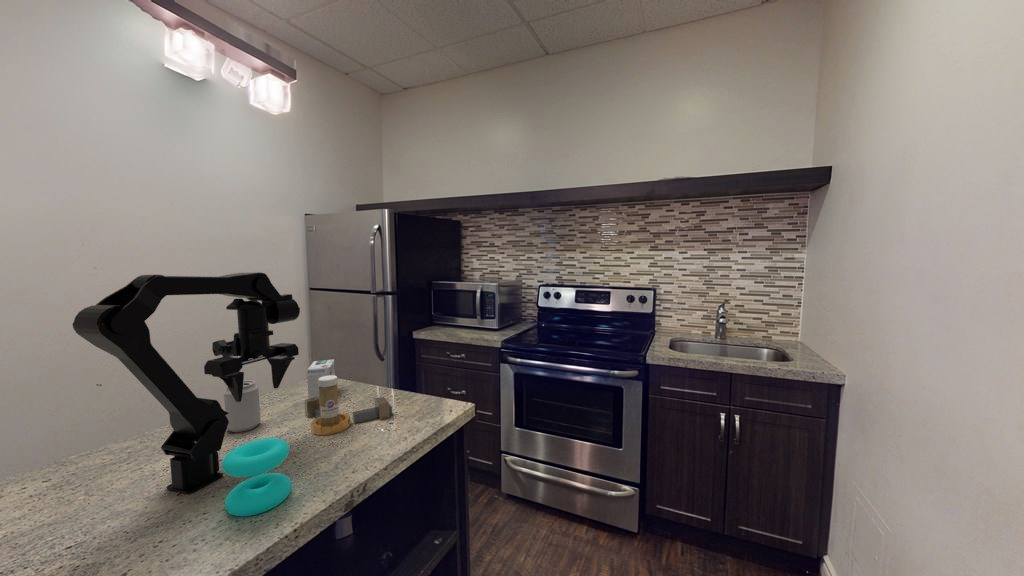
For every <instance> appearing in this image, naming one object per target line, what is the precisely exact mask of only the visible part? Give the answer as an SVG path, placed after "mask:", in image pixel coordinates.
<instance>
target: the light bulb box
mask: <svg viewBox="0 0 1024 576" xmlns="http://www.w3.org/2000/svg"><path fill="white" fill-rule="evenodd" d="M335 370H336V369H335V359H326V360H323V359H322V360H315V361H312V362H311V364H310V365H309V367H308V368H307V369H306V379H307V381H306V382H307V396H308V397H307V399H310V398H314V397H319V396H320V395H319V386H318V379H319V378H320V377H323V376H329V375H334V376H336V373H335V372H336V371H335Z"/></svg>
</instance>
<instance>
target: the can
mask: <svg viewBox="0 0 1024 576" xmlns="http://www.w3.org/2000/svg"><path fill="white" fill-rule="evenodd" d="M225 387H226V389H225V390H224V391H223V401H224V402H223V403H224V411H226V412H228V414H227V415H225V416H227V418H228V420H229V424H228V426H227V430H226V431H230V432H231V433H241V432H247V431H250V430H252V429H254V428H256V427H257V426H258V425H259V424H260V423H261V419H262V418H261V408H260V407H261V405H260V404H261V403H260V391H259V390H260V389H259V385H257V384H256V381H255V380H252V379H250V380H249V379H247V380H243V393H242V399H241V402H236V401H235V399H234V397H233V395H232V394H231V392H230V390H229V388H228V387H227V385H225Z"/></svg>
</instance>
